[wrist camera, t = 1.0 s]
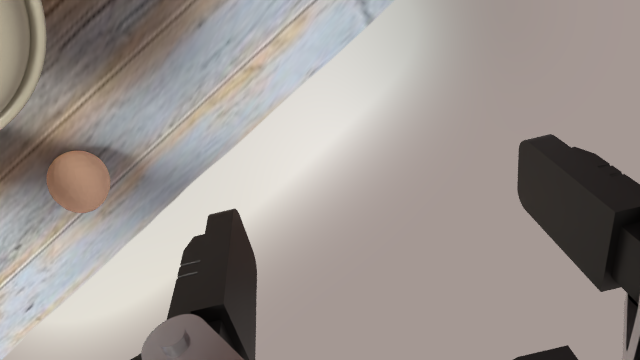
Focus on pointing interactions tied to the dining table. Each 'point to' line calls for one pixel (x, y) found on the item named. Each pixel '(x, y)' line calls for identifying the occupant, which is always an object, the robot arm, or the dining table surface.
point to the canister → (20, 54)
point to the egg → (78, 181)
